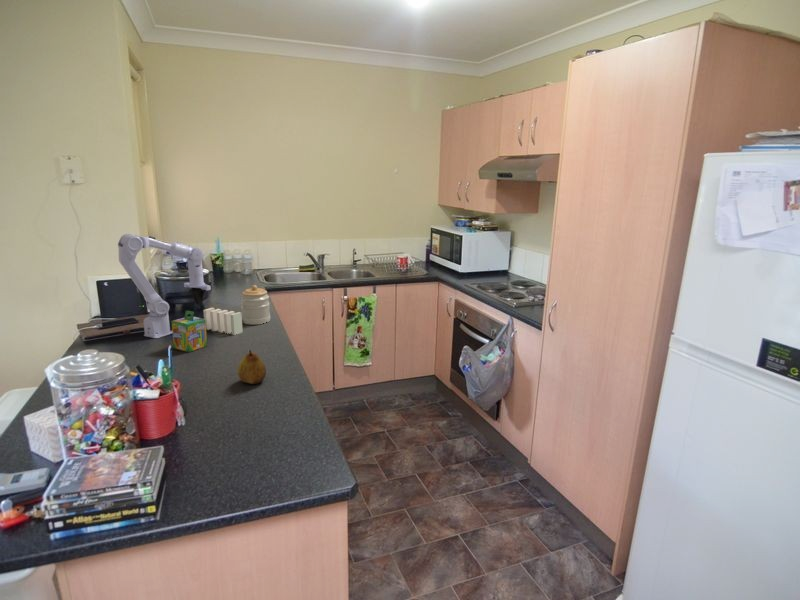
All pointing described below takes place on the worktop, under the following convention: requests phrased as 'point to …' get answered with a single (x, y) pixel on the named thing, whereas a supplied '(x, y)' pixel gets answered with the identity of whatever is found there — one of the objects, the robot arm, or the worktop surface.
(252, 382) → the fruit
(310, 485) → the worktop surface
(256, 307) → the jar
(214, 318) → the domino
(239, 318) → the domino
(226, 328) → the domino
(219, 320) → the domino
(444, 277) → the worktop surface
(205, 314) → the domino
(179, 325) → the chalk box
